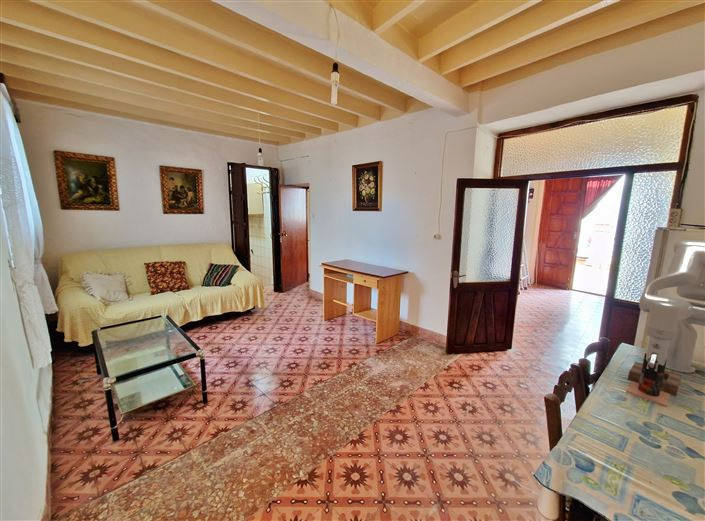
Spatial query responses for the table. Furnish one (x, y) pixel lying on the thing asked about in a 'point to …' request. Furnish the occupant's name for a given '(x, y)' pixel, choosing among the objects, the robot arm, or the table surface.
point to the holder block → (668, 382)
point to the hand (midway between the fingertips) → (651, 375)
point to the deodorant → (650, 385)
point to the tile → (660, 399)
